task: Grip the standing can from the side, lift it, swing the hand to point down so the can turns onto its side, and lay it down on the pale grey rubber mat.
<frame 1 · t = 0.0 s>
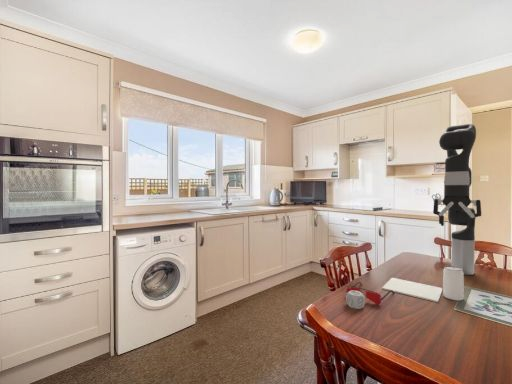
hand: (456, 226, 97), 29 cm above the table, tool pointing down, fingers open, 8 cm apart
mat: (412, 289, 111), on the table
glasses: (370, 296, 106), on the table
die: (355, 306, 96), on the table
can: (453, 298, 102), on the table
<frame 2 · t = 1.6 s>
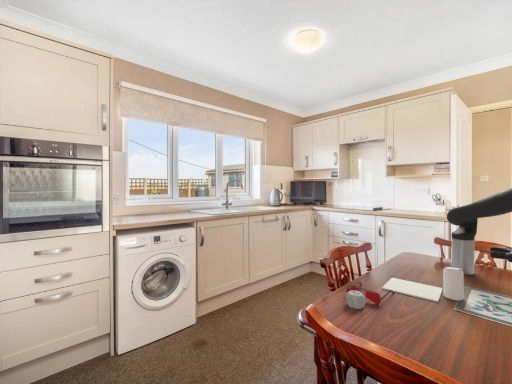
hand: (490, 252, 95), 20 cm above the table, tool horizontal, fingers open, 8 cm apart
nothing on the table moved.
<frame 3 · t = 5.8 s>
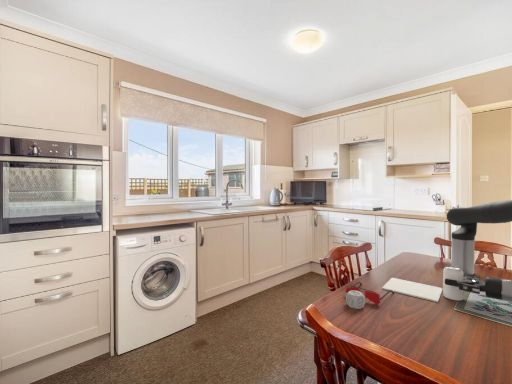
hand: (446, 278, 104), 7 cm above the table, tool horizontal, fingers closed on can, 6 cm apart
can: (453, 298, 102), on the table, touching gripper
everything else where it was.
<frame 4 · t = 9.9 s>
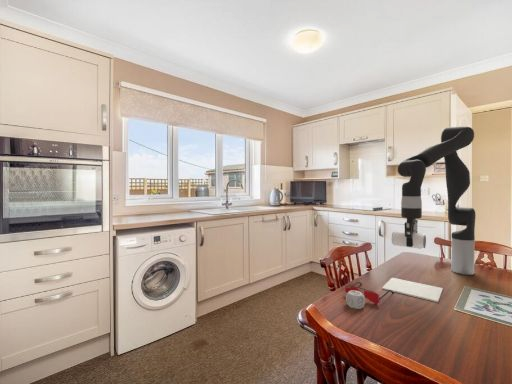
hand: (411, 245, 111), 19 cm above the table, tool pointing down, fingers closed on can, 6 cm apart
can: (392, 237, 115), point 21 cm above the table, touching gripper
everything else where it was.
when the fingers open (3 cm above the table, at t = 12.6 s): can moves 1 cm, resting on mat.
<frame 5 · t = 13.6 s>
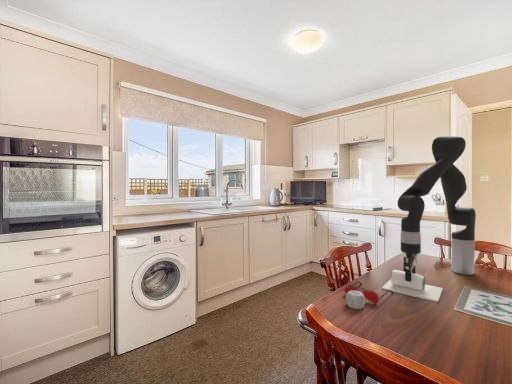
hand: (410, 278, 111), 5 cm above the table, tool pointing down, fingers open, 8 cm apart
can: (392, 276, 116), point 4 cm above the table, touching mat
everything else where it was.
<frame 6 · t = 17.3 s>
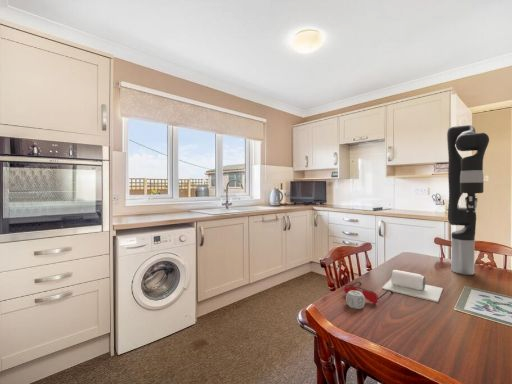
hand: (471, 220, 107), 30 cm above the table, tool pointing down, fingers open, 8 cm apart
nothing on the table moved.
at the end: can tilted 90°; can touching mat; can inside the target area (7.3 cm from its centre), point 3.8 cm above the table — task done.
